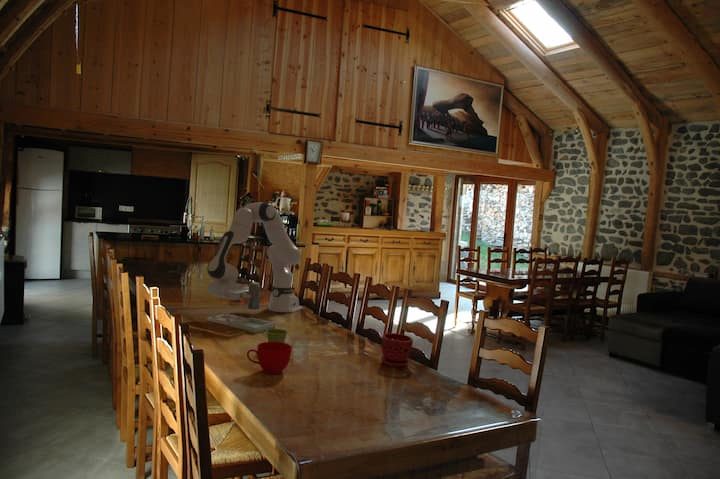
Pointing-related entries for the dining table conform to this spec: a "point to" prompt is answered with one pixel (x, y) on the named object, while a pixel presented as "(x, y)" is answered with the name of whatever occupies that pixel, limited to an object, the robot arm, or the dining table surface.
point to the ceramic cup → (272, 356)
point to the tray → (224, 318)
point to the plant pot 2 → (396, 349)
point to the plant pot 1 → (276, 335)
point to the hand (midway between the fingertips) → (255, 295)
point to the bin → (253, 325)
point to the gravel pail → (254, 295)
